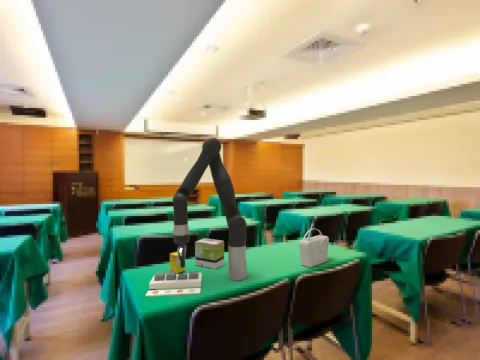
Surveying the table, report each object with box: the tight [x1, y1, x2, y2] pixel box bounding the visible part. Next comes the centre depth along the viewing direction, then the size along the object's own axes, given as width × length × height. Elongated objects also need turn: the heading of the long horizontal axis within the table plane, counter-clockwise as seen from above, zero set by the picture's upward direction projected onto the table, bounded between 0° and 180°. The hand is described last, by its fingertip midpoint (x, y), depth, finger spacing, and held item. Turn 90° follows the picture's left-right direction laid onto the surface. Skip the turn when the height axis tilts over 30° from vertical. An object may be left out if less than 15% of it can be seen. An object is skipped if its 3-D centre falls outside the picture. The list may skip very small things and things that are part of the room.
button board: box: [148, 272, 203, 290], centre depth 138 cm, size 25×11×3 cm, turn 95°
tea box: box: [194, 237, 225, 270], centre depth 165 cm, size 15×10×15 cm
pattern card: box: [145, 287, 202, 297], centre depth 128 cm, size 25×5×1 cm, turn 95°
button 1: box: [188, 270, 199, 279], centre depth 138 cm, size 4×4×3 cm
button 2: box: [178, 273, 188, 280], centre depth 138 cm, size 4×4×3 cm
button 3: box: [165, 271, 176, 280], centre depth 137 cm, size 4×4×3 cm
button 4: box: [153, 272, 166, 281], centre depth 137 cm, size 4×4×3 cm
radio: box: [298, 223, 330, 269], centre depth 164 cm, size 22×8×25 cm, turn 129°
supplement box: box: [169, 250, 186, 274], centre depth 154 cm, size 6×6×11 cm
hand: (182, 267), depth 138 cm, fingers closed
